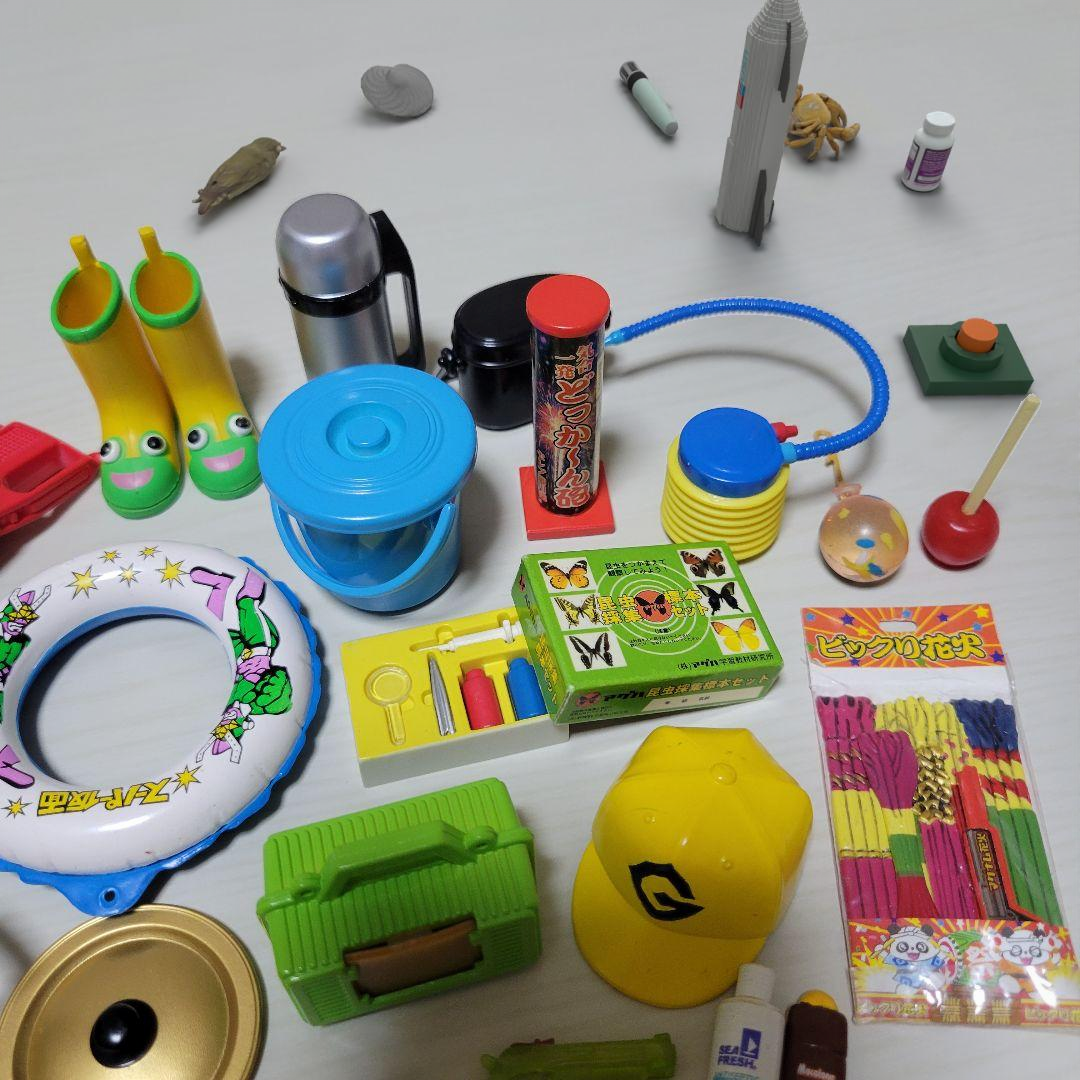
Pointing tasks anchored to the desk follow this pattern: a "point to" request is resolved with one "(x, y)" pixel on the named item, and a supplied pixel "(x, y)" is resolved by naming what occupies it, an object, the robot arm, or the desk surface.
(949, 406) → the desk surface
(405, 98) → the seashell
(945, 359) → the button box
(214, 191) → the decorative bird model
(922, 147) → the pill bottle
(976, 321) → the press button
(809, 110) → the crab model
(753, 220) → the rocket model
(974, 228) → the desk surface
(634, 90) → the flashlight
